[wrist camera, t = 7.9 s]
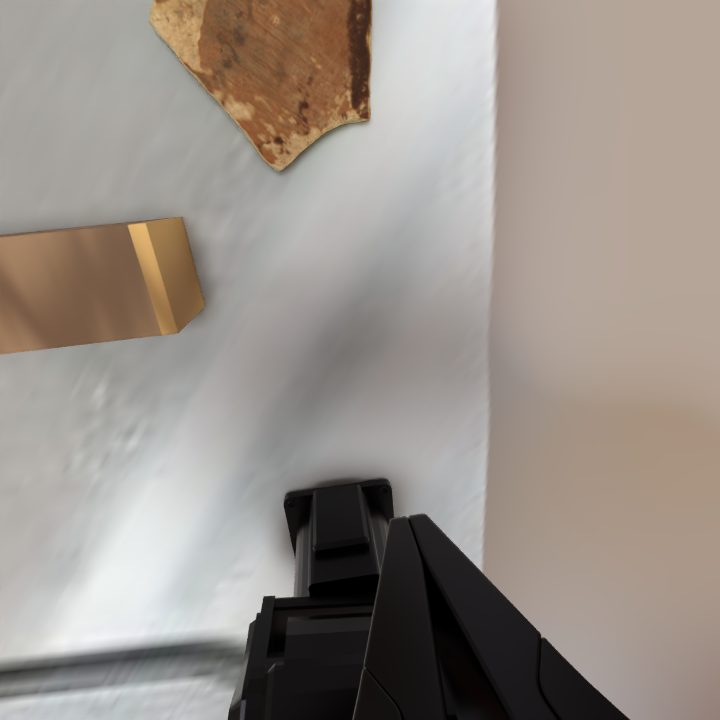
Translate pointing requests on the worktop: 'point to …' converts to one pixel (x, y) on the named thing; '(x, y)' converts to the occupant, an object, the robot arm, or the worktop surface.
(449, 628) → the robot arm
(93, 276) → the walnut block
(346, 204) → the worktop surface
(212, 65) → the shard
